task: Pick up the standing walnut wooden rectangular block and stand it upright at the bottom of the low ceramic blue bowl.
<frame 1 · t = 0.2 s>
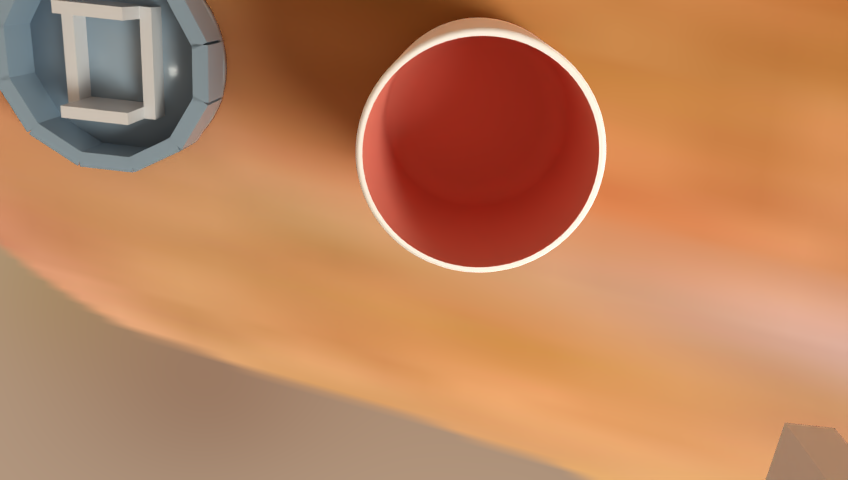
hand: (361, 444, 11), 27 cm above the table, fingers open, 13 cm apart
blue bowl: (125, 56, 36), on the table
cup: (476, 113, 37), on the table
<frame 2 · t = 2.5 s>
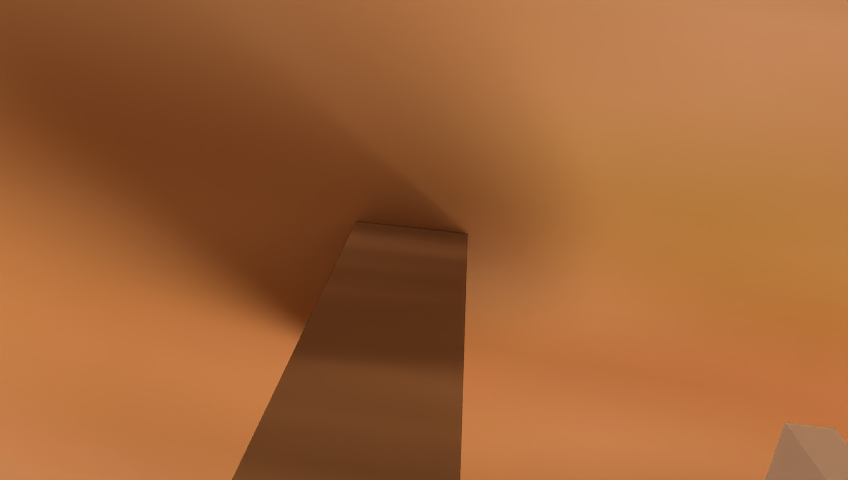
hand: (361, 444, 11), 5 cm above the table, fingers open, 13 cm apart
wooden rectangular block: (405, 298, 15), on the table
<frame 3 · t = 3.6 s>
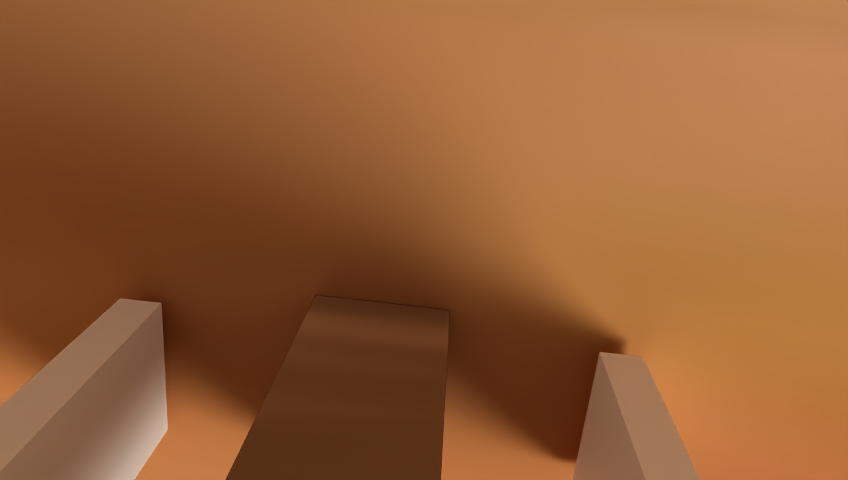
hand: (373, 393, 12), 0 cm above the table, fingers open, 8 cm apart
wooden rectangular block: (375, 384, 13), on the table
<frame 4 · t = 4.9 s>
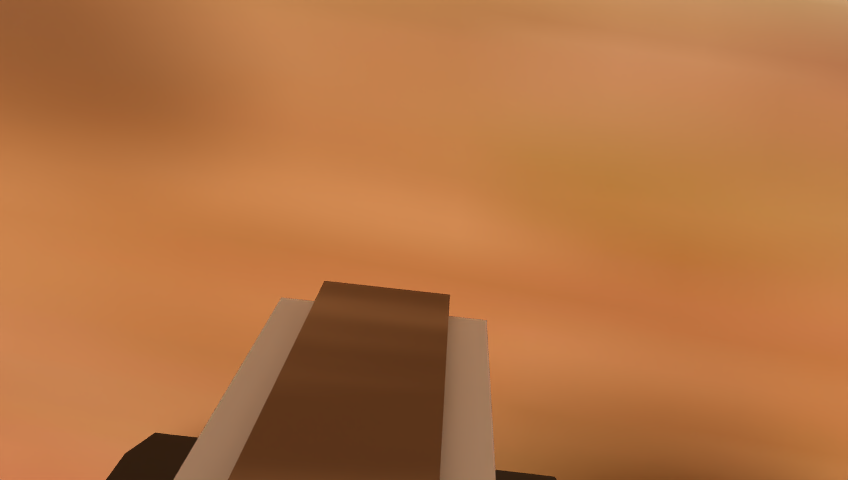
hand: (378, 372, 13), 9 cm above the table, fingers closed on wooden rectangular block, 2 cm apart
wooden rectangular block: (380, 365, 14), point 8 cm above the table, touching gripper
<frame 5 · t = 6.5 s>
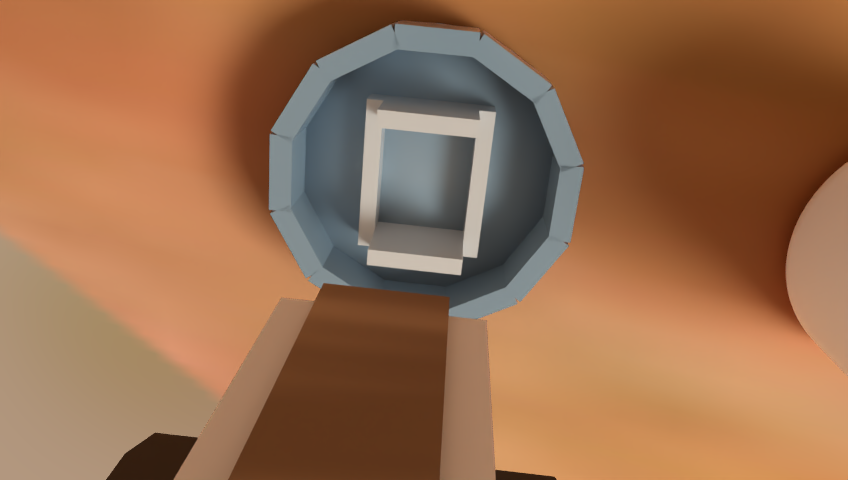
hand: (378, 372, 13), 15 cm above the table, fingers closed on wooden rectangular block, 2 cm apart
blue bowl: (426, 168, 27), on the table
wooden rectangular block: (380, 367, 13), point 14 cm above the table, touching gripper
when the fingers open (3 cm above the table, at t = 8.3 s): wooden rectangular block drops 2 cm, resting on blue bowl.
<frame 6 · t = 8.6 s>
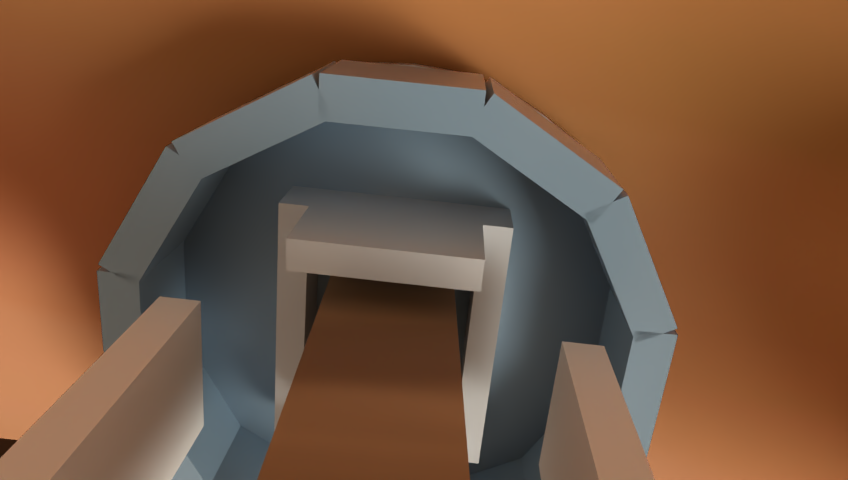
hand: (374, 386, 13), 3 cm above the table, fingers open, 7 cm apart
blue bowl: (393, 304, 16), on the table
wooden rectangular block: (390, 321, 15), point 1 cm above the table, touching blue bowl
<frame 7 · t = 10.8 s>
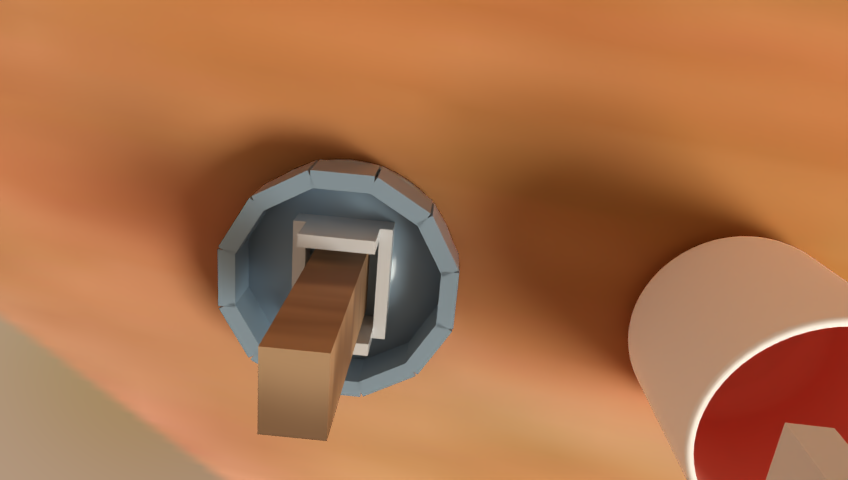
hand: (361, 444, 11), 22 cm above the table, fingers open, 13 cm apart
blue bowl: (346, 267, 34), on the table
wooden rectangular block: (344, 274, 33), point 1 cm above the table, touching blue bowl
cup: (721, 321, 34), on the table
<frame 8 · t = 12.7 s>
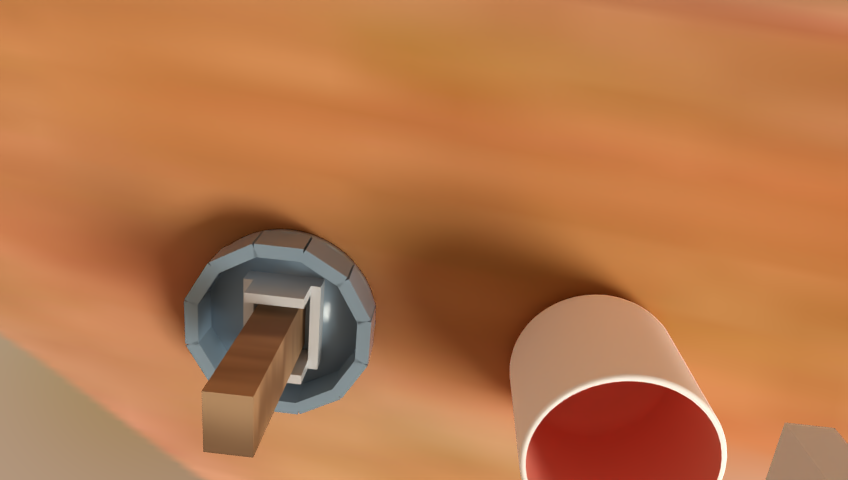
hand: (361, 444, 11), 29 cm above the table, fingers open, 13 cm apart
blue bowl: (288, 311, 43), on the table
wooden rectangular block: (286, 317, 42), point 1 cm above the table, touching blue bowl
cup: (587, 357, 43), on the table
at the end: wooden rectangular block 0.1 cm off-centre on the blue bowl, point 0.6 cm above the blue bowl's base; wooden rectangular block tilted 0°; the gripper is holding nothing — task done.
